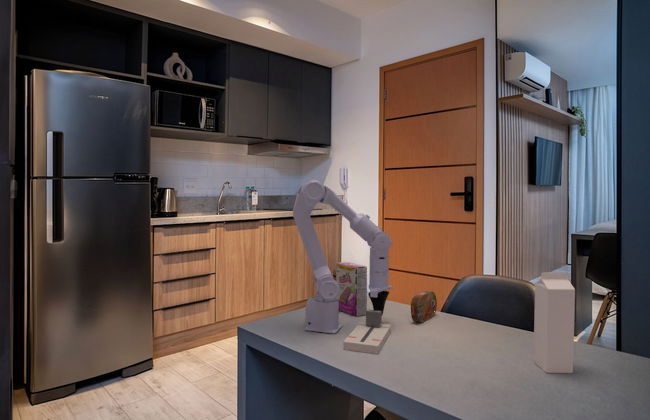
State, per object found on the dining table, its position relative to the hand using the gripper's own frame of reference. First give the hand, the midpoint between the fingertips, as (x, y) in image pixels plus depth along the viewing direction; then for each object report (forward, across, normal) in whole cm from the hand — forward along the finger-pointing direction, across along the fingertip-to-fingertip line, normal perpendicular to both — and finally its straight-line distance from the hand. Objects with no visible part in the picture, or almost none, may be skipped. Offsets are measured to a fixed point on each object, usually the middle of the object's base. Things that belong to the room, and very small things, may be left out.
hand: (378, 315), depth 123 cm
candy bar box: (+3, +11, +12) cm, 17 cm away
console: (+3, -13, 0) cm, 13 cm away
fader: (+1, -7, 0) cm, 7 cm away
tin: (+3, +12, -12) cm, 18 cm away
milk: (+3, -16, -44) cm, 47 cm away
